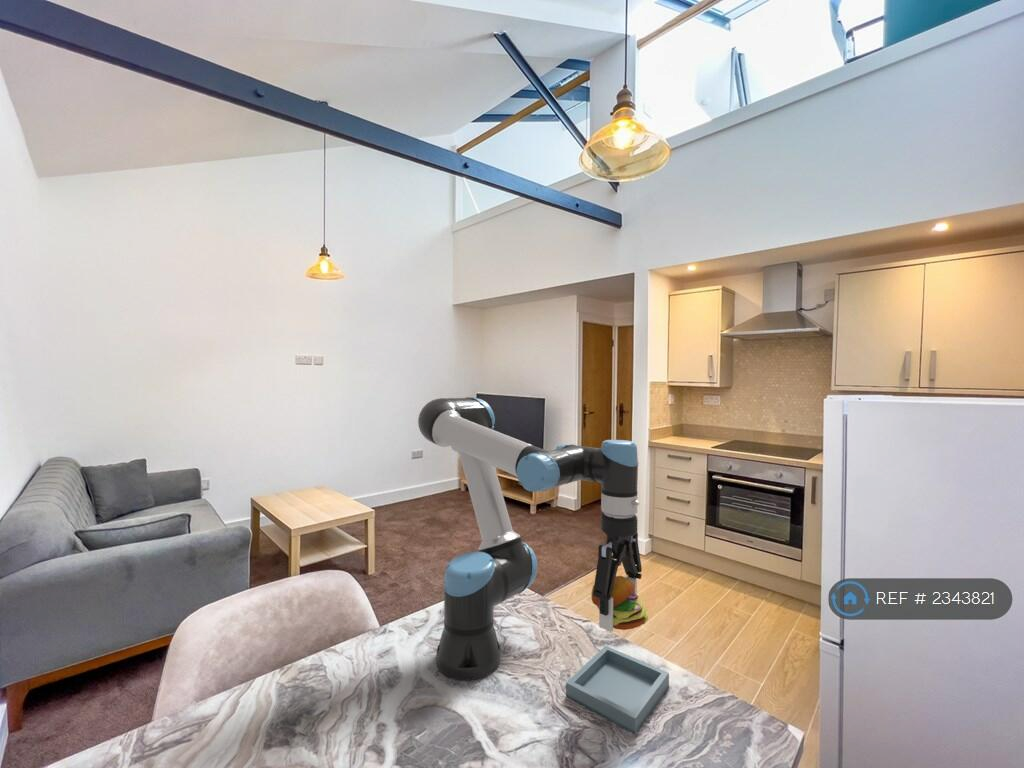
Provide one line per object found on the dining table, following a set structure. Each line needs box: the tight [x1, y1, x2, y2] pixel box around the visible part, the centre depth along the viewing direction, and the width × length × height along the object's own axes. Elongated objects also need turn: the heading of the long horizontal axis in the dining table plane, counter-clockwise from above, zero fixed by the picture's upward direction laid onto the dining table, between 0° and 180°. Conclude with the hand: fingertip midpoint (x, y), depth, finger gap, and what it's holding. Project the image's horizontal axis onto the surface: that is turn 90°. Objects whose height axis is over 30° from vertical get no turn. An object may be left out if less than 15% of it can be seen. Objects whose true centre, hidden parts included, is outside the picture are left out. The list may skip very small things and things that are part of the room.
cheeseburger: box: [591, 575, 649, 631], centre depth 92 cm, size 10×11×10 cm
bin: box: [565, 645, 670, 736], centre depth 92 cm, size 15×17×3 cm
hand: (618, 617), depth 92 cm, fingers closed on cheeseburger, 10 cm apart
